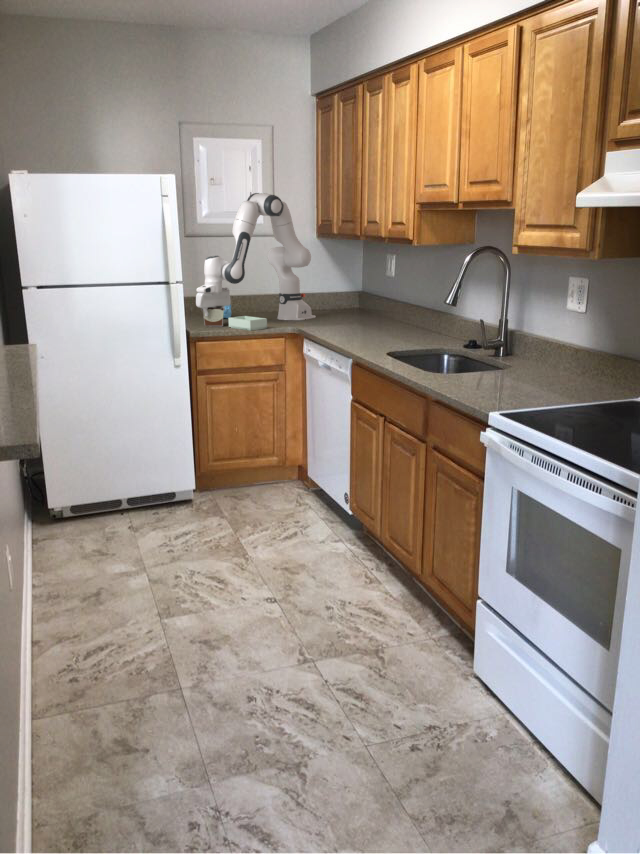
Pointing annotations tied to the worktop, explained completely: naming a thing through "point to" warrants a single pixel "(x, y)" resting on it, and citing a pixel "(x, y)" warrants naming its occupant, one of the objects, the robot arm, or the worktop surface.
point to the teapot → (227, 312)
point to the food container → (214, 316)
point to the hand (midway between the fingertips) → (214, 315)
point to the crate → (248, 323)
